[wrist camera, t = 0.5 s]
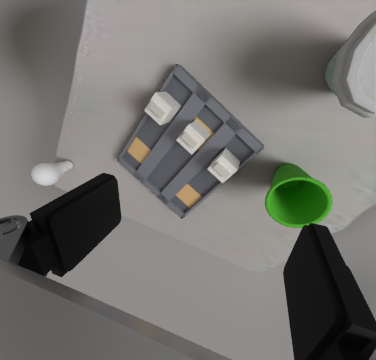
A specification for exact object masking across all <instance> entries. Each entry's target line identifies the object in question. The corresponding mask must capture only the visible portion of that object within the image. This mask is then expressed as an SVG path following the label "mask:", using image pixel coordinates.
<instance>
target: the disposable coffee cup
mask: <svg viewBox="0 0 376 360" xmlns="http://www.w3.org/2000/svg"><path fill="white" fill-rule="evenodd" d="M325 79H326V82H327V84H328V87H329V88H330V89H331V90H332V91H333V93H334V94H335V95H336V96H337V97H338V99H339V102H340V104H341V106H343V107H345V108H347V109H349V110H350V111H352V112H354V113H356V114H358V115H360V116H361V117H363V118H376V11H375V12H373V13H372V14H370V15H369V16H368V17H367V18H366V19H365V20H364V21H363V22H362V23H361V24H359V25H358V26H357V28H356V29H355V30H354V32H353V33H352V34H351V36H350V37H349V38H348V40H347V41H346V42H345V44H344V45H343V46H342V47H341V48H340V49H339V50H338V51H337V52H336V54H335V55H334V56H333V58H332V59H331V60H330V62H329V63H328V64H327V69H326V74H325Z"/></svg>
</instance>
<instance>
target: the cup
mask: <svg viewBox="0 0 376 360" xmlns="http://www.w3.org/2000/svg"><path fill="white" fill-rule="evenodd" d="M265 206H266V210H267V212H268V214H269V215H270V216H271V217H272V218H273V219H274V220H275V221H277V222H278V223H280V224H282V225H285V226H288V227H293V228H302V227H303V226H304V225H309V224H310V223H314V224H317V223H318V222H320V221H322V220H323V219H324V218H325V217H326V216H327V215H328V213H329V212H330V210H331V207H332V195H331V193H330V191H329V189H328V188H327V187H326V186H325V185H324V184H323V183H321V182H319V181H318V180H315V179H313V178H312V177H310V176H309V175H308V174H307V173H306V172H304V171H303V170H302V169H301V168H299V167H298V166H296V165H293V164H286V165H282V166H280V167H279V168H278V169H277V170H276V171H275V173H274V176H273V180H272V184H271V187H270V190H269V191H268V193H267V195H266V198H265Z"/></svg>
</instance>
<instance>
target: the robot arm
mask: <svg viewBox="0 0 376 360" xmlns="http://www.w3.org/2000/svg"><path fill="white" fill-rule="evenodd" d="M30 215H31V218H32V220H31V221H30V222H28V220H27V218H26V217H24V216H19V215H14V216H8V217H4V218H1V219H0V360H231V359H229V358H227V357H225V356H223V355H220V354H218V353H216V352H213V351H211V350H209V349H207V348H205V347H203V346H200V345H198V344H196V343H194V342H191V341H189V340H187V339H184V338H182V337H180V336H178V335H176V334H173V333H171V332H169V331H167V330H165V329H162V328H160V327H158V326H156V325H153V324H151V323H149V322H147V321H144V320H142V319H140V318H138V317H135V316H133V315H131V314H129V313H126V312H124V311H122V310H120V309H117V308H115V307H113V306H111V305H108V304H106V303H103V302H102V301H99V300H97V299H95V298H92V297H90V296H88V295H86V294H83V293H81V292H79V291H76V290H74V289H72V288H70V287H67V286H65V285H63V284H60V283H58V282H56V281H54V280H51V279H49V278H47V273H48V272H49V271H50V270H51V271H52V273H53V274H55V275H58V276H60V277H62V276H64V275H65V273H67V272H68V271H71V270H72V269H73V268H74V267H75V266H76V265H77V264H78V263H79V262H81V260H83V259H84V258H85V257H86V255H87V254H89V253H90V252H91V251H92V250H93V249H94V248H95V247H96V246H97V245H98V244H99V243H100V242H101V241H102V240H103V239H104V238H105V237H106V236H107V235H108V234H109V233H110V232H111V231H112V230H113V229H114V228H115V227H116V226H117V225H118V224H119V223H120V221H121V210H120V201H119V192H118V182H117V179H116V178H115V176H113V175H110V174H106V173H102V174H100V175H98V176H96V177H95V178H93V179H91V180H89V181H87V182H86V183H84V184H82V185H80V186H78V187H77V188H75V189H73V190H71V191H69V192H68V193H66V194H64V195H62V196H61V197H58V198H57V199H55V200H53V201H51V202H49V203H48V204H46V205H44V206H42V207H41V208H39V209H37V210H35V211H33V212H31V213H30ZM283 274H284V283H285V291H286V298H287V306H288V314H289V321H290V329H291V337H292V345H293V352H294V360H376V321H375V319H374V317H373V315H372V313H371V311H370V309H369V307H368V305H367V303H366V301H365V299H364V297H363V295H362V293H361V291H360V289H359V287H358V285H357V283H356V280H355V278H354V276H353V274H352V272H351V270H350V269H349V268H348V266H346V264H345V262H344V260H343V258H342V256H341V254H340V252H339V250H338V248H337V246H336V244H335V242H334V240H333V237H332V235H331V233H330V231H329V229H328V228H327V227H326V226H322V225H318V224H314V223H310V224H309V225H304V226H303V228H302V230H301V232H300V234H299V236H298V239H297V241H296V243H295V245H294V247H293V250H292V252H291V254H290V256H289V258H288V260H287V263H286V265H285V267H284V273H283Z"/></svg>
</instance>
